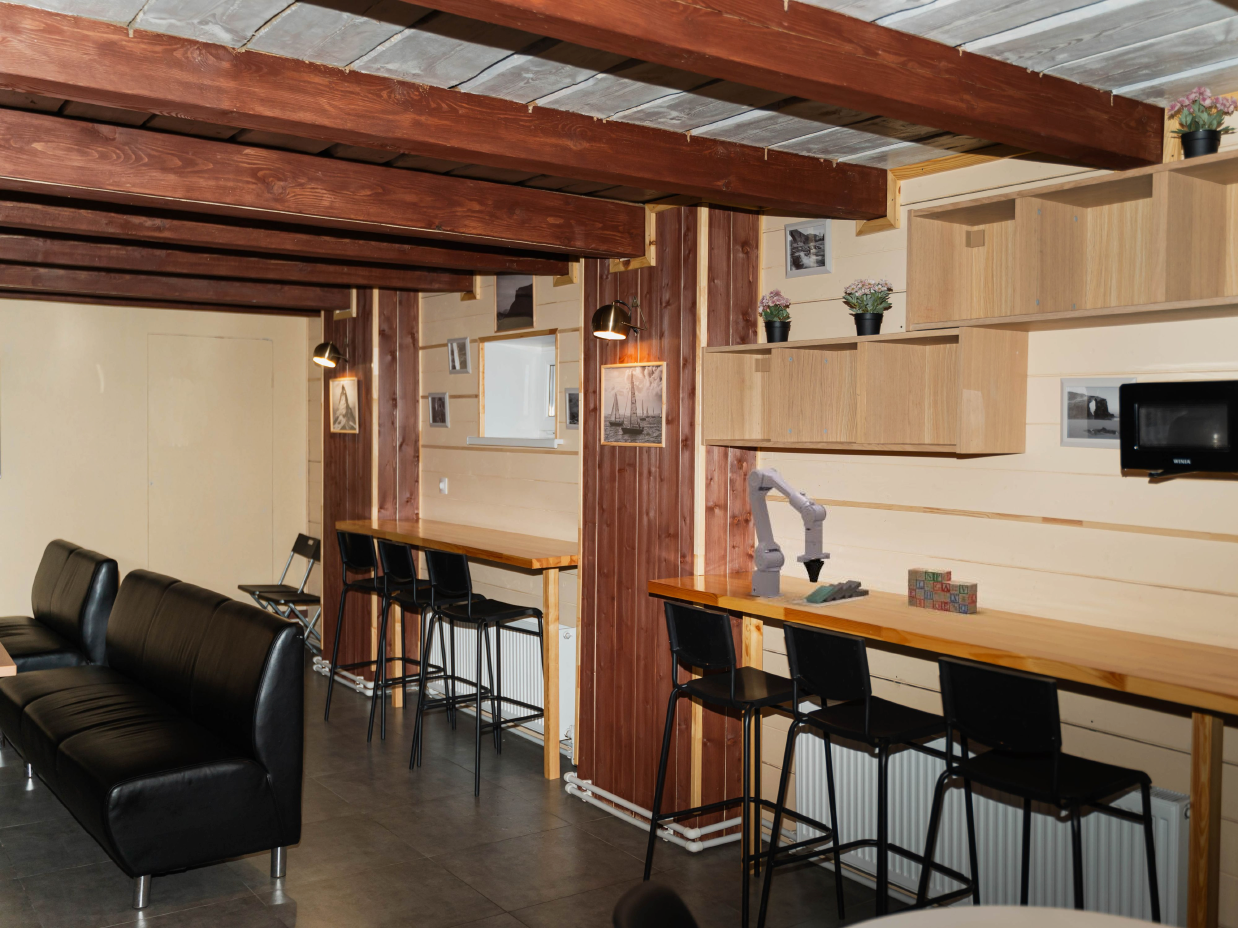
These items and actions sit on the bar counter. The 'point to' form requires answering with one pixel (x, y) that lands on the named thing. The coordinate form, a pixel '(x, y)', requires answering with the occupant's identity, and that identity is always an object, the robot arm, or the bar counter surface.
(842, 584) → the domino
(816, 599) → the domino
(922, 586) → the stack of blocks
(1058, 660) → the bar counter surface
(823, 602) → the mat
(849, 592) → the domino
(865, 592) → the domino
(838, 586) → the domino
